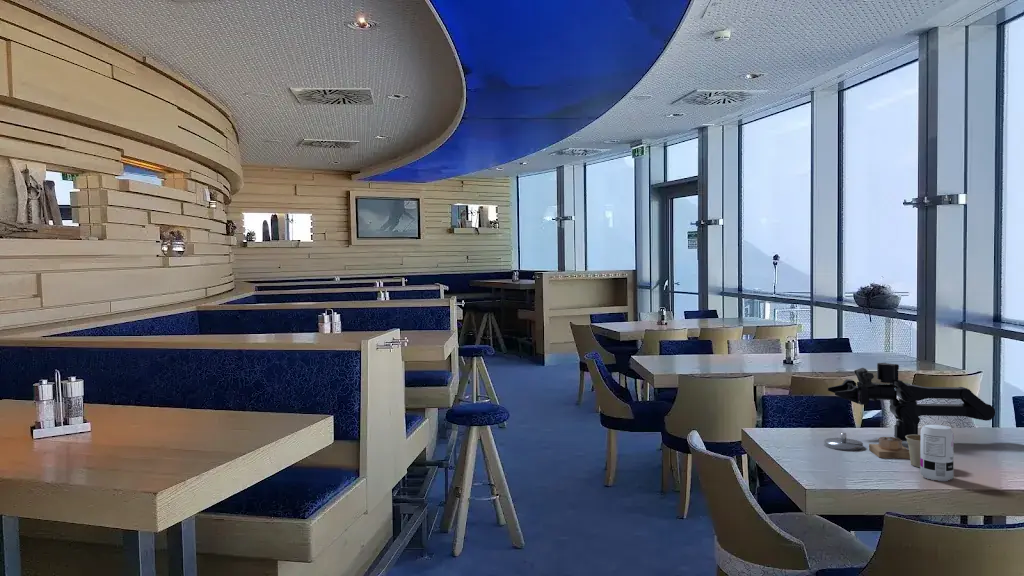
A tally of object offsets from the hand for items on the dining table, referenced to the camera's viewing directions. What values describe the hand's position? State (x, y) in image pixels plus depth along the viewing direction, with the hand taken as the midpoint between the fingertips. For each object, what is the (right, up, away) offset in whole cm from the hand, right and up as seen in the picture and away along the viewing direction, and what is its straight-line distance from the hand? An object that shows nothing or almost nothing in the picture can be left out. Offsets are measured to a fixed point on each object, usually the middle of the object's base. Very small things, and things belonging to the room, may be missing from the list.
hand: (831, 391), depth 256 cm
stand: (+8, -17, -24) cm, 31 cm away
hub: (-2, -17, -13) cm, 22 cm away
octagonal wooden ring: (+8, -15, -24) cm, 30 cm away
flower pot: (+11, -18, -38) cm, 43 cm away
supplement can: (+8, -18, -51) cm, 54 cm away
